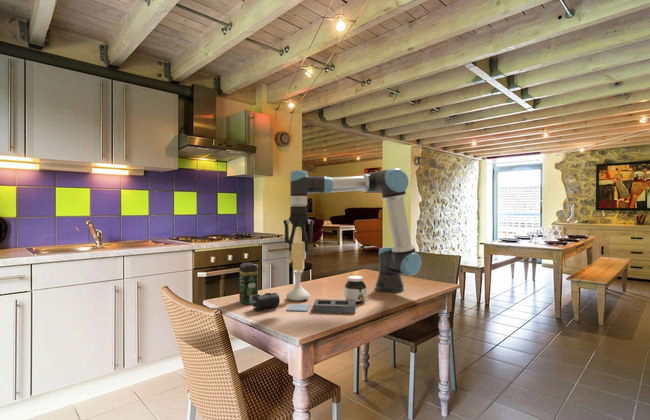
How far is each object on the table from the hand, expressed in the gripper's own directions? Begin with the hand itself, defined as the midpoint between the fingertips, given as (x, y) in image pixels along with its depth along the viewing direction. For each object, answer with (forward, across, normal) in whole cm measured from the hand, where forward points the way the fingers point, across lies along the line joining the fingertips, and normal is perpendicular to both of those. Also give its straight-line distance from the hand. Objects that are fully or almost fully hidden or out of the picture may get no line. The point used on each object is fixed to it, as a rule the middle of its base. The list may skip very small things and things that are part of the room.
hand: (298, 258), depth 153 cm
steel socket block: (+22, +16, 0) cm, 27 cm away
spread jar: (+22, +25, +16) cm, 37 cm away
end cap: (+22, -14, -3) cm, 26 cm away
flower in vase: (+22, -3, +14) cm, 26 cm away
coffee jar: (+22, -25, +7) cm, 34 cm away
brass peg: (+5, 0, 0) cm, 5 cm away
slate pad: (+22, 0, 0) cm, 22 cm away
